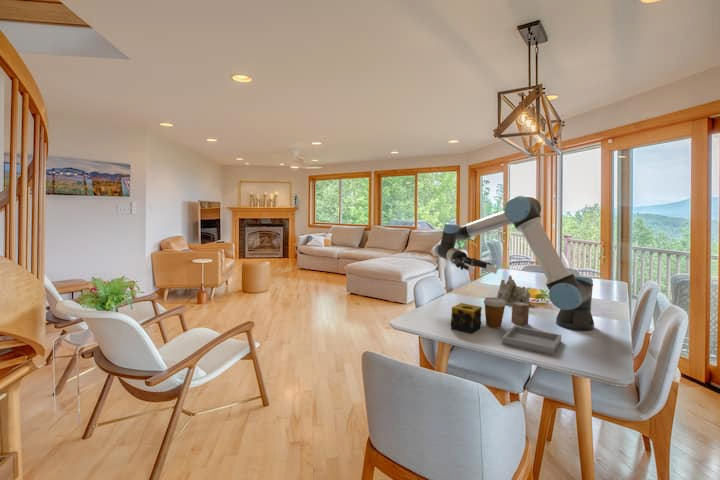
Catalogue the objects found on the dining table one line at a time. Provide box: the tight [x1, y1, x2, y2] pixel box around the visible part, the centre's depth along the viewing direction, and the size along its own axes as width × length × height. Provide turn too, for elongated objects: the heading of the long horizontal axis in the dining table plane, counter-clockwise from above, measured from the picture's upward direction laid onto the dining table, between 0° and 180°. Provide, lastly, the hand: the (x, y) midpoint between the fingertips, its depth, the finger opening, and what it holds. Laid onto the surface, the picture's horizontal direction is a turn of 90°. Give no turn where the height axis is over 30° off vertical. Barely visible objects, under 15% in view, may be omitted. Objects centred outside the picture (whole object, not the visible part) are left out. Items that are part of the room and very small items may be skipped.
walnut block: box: [510, 302, 530, 326], centre depth 171 cm, size 5×5×9 cm
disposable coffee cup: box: [483, 296, 507, 329], centre depth 166 cm, size 10×10×12 cm
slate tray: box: [501, 325, 562, 357], centre depth 146 cm, size 18×18×3 cm
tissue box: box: [450, 302, 483, 335], centre depth 161 cm, size 10×10×10 cm
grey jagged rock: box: [495, 275, 531, 306], centre depth 209 cm, size 16×16×15 cm
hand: (485, 270), depth 172 cm, fingers open, 13 cm apart
